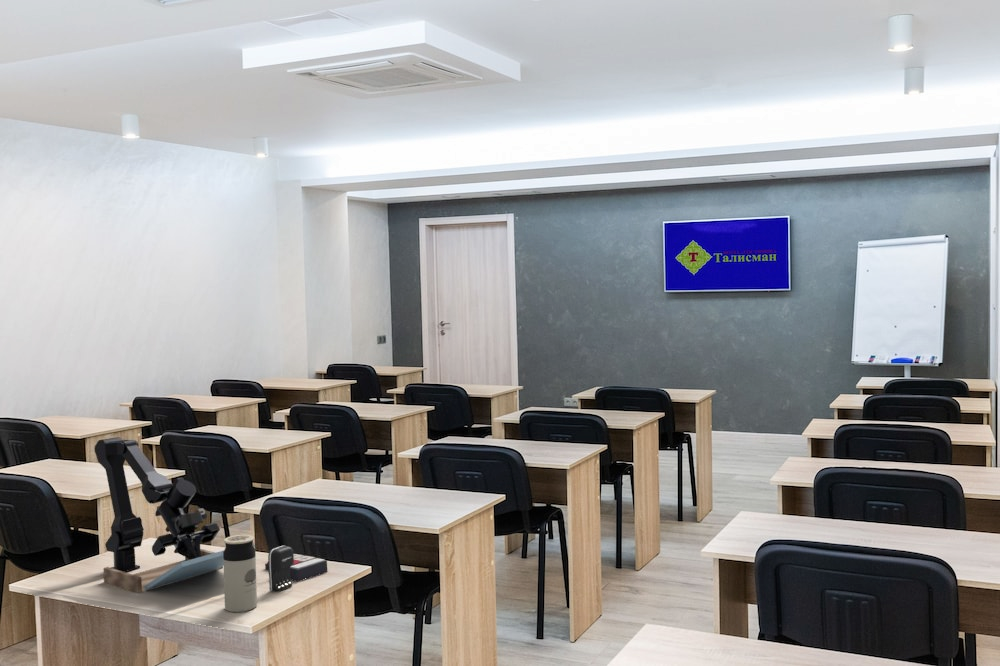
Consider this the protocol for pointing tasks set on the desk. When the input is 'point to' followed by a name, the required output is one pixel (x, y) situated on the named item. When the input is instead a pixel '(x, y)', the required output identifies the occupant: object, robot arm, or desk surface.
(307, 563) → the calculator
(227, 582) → the travel mug
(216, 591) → the desk surface
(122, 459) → the robot arm
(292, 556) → the battery charger
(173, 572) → the panel
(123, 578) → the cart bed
